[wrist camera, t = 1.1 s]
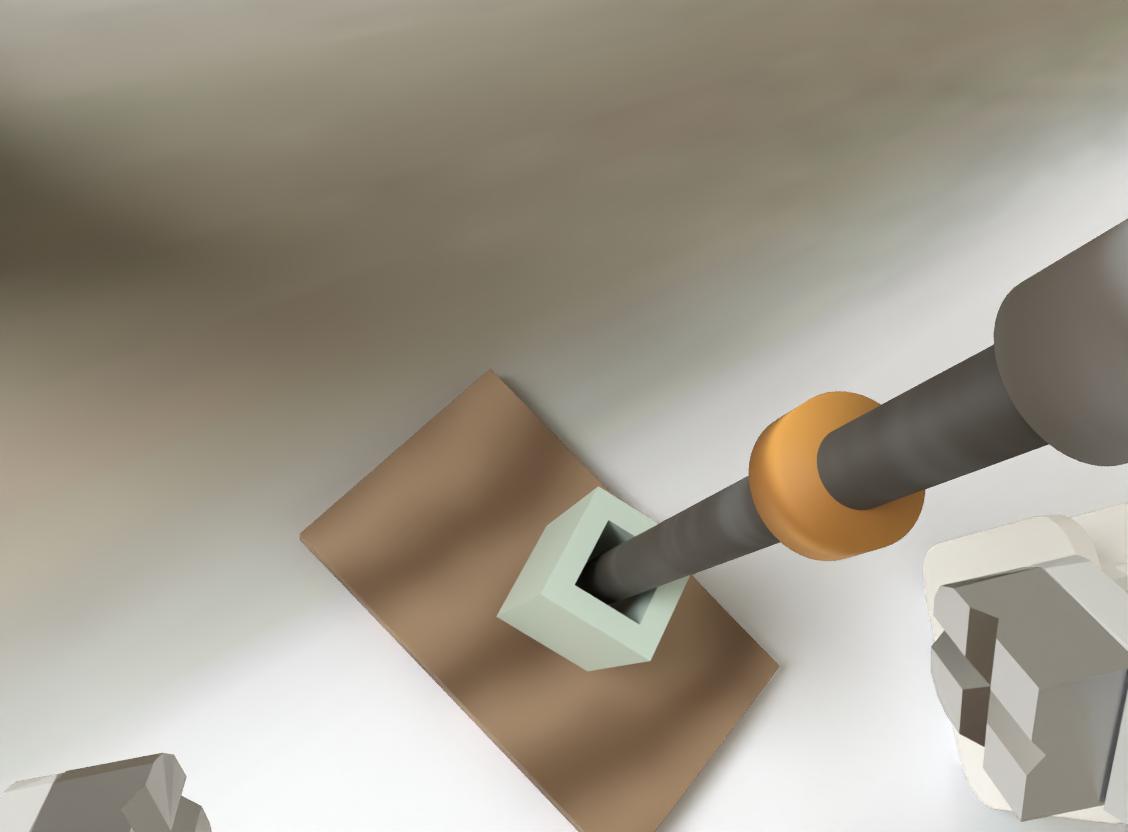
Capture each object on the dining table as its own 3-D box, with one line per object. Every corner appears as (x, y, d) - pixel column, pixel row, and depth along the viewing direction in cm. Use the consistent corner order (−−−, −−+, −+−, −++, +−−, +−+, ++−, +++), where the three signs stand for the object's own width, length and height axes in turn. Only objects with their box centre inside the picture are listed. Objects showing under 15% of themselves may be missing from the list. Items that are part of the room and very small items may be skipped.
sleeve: (496, 616, 41) (540, 594, 34) (546, 525, 43) (598, 486, 36) (587, 671, 41) (650, 661, 34) (632, 578, 44) (701, 550, 36)
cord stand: (299, 539, 44) (337, -217, 8) (484, 378, 49) (977, -491, 14) (613, 867, 43) (2080, 1537, 8) (765, 667, 48) (2035, 526, 13)
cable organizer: (903, 536, 54) (1054, 491, 43) (1043, 530, 57) (1216, 486, 46) (959, 806, 49) (1142, 829, 38) (1108, 782, 52) (1315, 798, 42)
